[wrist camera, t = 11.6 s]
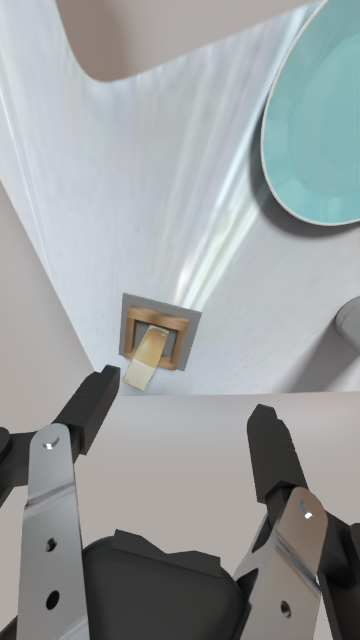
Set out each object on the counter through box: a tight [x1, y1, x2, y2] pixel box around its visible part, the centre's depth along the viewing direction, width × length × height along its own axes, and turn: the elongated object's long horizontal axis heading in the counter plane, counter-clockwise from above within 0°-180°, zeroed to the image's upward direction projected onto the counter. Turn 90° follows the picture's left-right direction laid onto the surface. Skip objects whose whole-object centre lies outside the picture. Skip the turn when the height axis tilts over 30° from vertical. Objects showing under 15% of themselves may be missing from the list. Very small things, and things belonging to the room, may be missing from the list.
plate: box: [260, 0, 360, 226], centre depth 24 cm, size 22×22×3 cm
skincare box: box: [122, 323, 169, 391], centre depth 39 cm, size 6×4×12 cm
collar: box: [124, 305, 189, 370], centre depth 43 cm, size 12×12×2 cm
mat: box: [119, 293, 202, 371], centre depth 44 cm, size 16×16×1 cm
